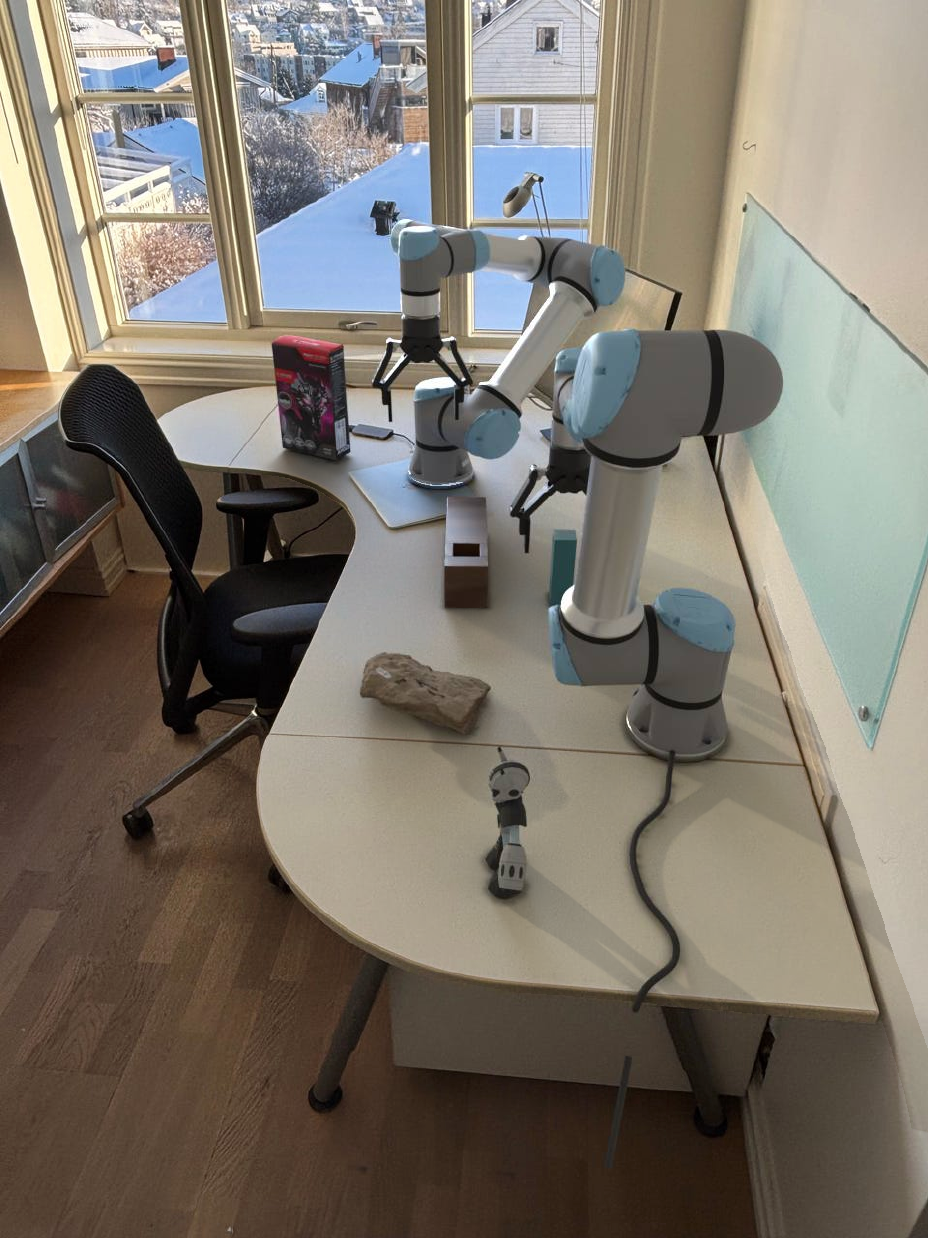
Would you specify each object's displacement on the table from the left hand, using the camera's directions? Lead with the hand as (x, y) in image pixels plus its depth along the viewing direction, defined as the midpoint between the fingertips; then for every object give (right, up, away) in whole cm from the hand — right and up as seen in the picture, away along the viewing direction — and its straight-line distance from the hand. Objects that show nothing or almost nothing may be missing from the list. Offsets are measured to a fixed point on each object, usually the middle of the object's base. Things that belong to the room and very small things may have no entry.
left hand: (423, 418), depth 190 cm
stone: (+1, -55, -42) cm, 69 cm away
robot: (+14, -74, -70) cm, 103 cm away
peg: (+26, -38, -16) cm, 49 cm away
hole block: (+9, -31, -7) cm, 33 cm away
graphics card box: (-29, +1, +41) cm, 50 cm away
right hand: (+27, -29, -21) cm, 44 cm away
